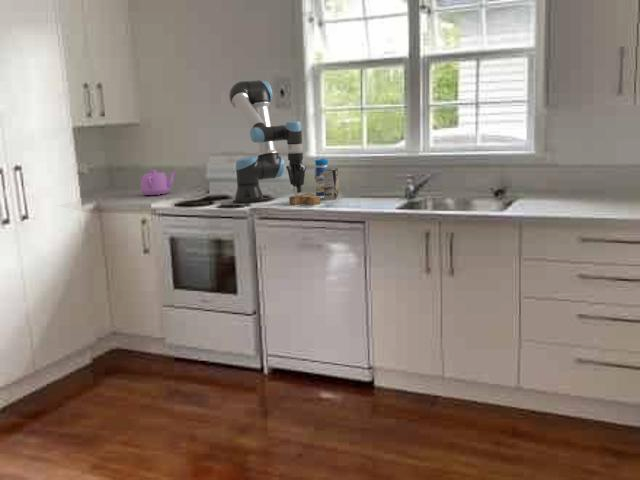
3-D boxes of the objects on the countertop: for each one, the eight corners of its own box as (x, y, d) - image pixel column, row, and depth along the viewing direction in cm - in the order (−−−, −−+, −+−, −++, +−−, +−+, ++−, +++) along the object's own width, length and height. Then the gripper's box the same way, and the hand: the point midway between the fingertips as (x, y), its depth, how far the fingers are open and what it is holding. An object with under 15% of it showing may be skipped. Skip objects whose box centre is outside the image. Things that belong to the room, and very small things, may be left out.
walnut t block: (289, 204, 339) (289, 196, 338) (308, 200, 348) (308, 193, 347) (307, 206, 329) (307, 198, 329) (326, 203, 338) (326, 195, 337)
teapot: (136, 198, 398) (133, 172, 395) (146, 193, 419) (144, 168, 415) (174, 196, 397) (171, 171, 394) (183, 191, 417) (180, 167, 414)
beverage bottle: (332, 194, 371) (330, 158, 367) (329, 197, 363) (328, 159, 359) (316, 195, 372) (315, 158, 368) (314, 197, 364) (312, 160, 360)
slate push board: (273, 205, 344) (273, 203, 344) (300, 200, 356) (300, 198, 356) (307, 209, 326) (307, 208, 326) (334, 204, 338) (334, 202, 337)
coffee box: (336, 201, 348) (335, 170, 344) (324, 201, 349) (322, 170, 346) (339, 198, 357) (338, 167, 353) (327, 198, 358) (326, 168, 354)
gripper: (281, 152, 341) (284, 198, 346) (298, 153, 331) (300, 200, 336) (292, 151, 346) (295, 196, 351) (309, 152, 336) (311, 198, 341)
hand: (297, 198), depth 343 cm, fingers closed
